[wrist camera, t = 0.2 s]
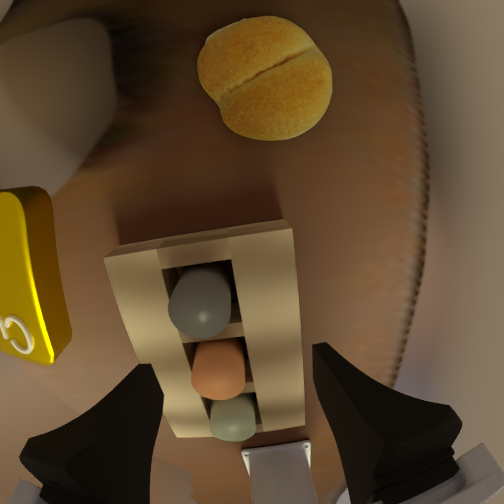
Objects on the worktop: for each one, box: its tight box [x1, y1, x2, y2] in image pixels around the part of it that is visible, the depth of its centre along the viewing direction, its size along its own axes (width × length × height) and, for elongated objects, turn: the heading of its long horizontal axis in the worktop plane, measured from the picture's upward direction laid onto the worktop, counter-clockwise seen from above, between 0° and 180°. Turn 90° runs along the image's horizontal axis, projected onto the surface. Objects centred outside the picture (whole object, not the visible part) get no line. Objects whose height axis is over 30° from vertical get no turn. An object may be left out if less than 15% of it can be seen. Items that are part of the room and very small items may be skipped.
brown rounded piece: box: [191, 337, 245, 400], centre depth 19 cm, size 4×4×4 cm
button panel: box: [103, 219, 305, 437], centre depth 21 cm, size 18×12×3 cm, turn 8°
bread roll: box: [197, 16, 333, 141], centre depth 15 cm, size 8×9×4 cm
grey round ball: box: [168, 262, 231, 338], centre depth 17 cm, size 4×4×4 cm
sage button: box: [210, 392, 256, 442], centre depth 21 cm, size 4×4×4 cm
